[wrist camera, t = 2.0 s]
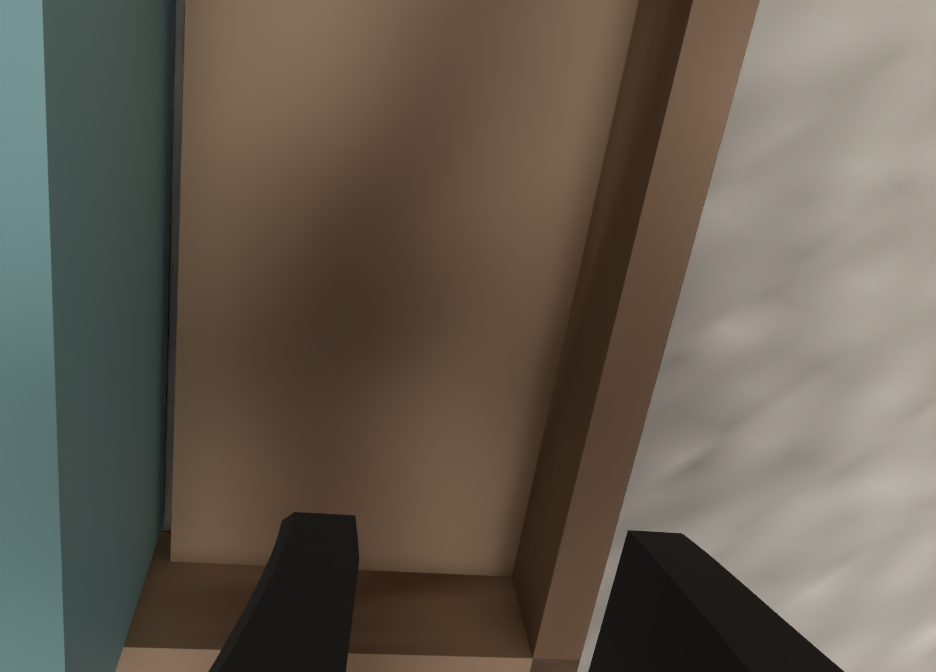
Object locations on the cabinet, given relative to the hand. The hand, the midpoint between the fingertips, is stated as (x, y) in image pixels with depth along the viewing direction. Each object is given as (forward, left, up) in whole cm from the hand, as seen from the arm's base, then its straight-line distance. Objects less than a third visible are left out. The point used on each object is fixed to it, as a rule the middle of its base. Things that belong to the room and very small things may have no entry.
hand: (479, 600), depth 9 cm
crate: (+1, 0, -9) cm, 9 cm away
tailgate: (+6, 0, -9) cm, 11 cm away
